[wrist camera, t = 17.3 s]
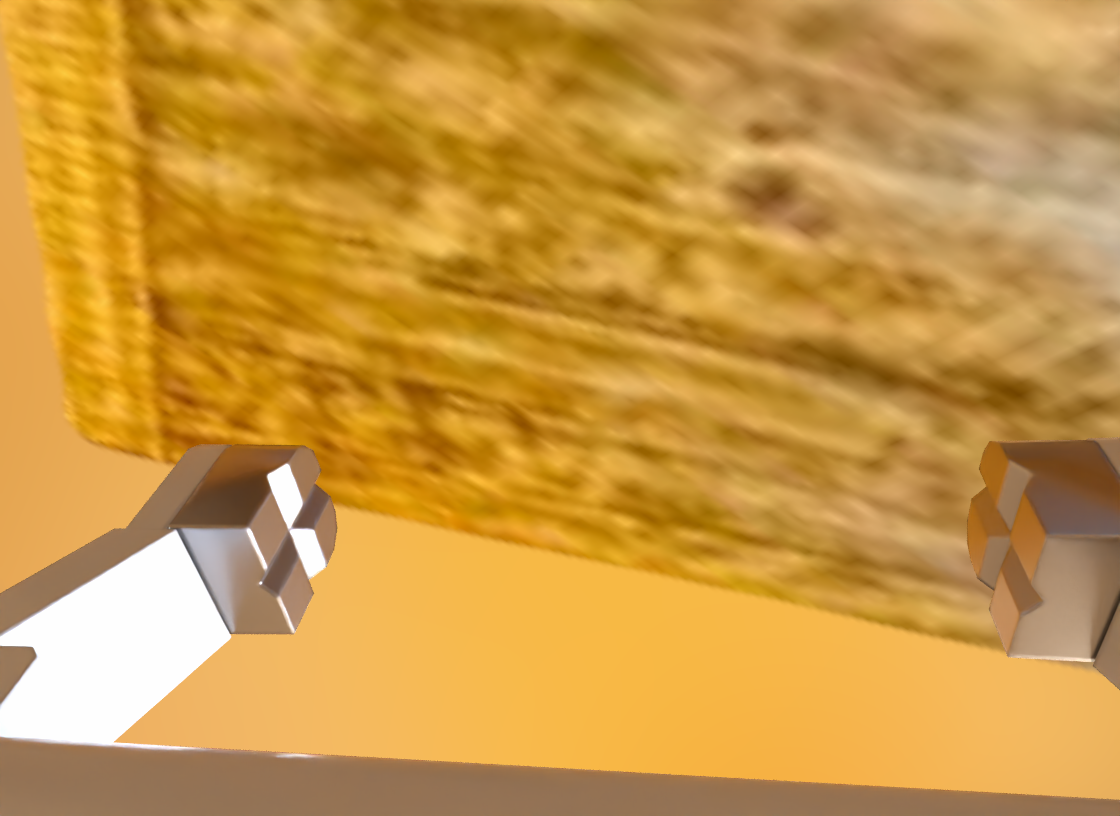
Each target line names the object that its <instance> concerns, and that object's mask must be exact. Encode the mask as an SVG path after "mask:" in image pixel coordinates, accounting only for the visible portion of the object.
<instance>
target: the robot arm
mask: <svg viewBox="0 0 1120 816" xmlns="http://www.w3.org/2000/svg"><path fill="white" fill-rule="evenodd" d="M979 470H980V473H981V475H982V477H983V479H984V482H985V484H986V486H987V487H985V488H984V489H983V490H982V491H980V492H979V493H978V494H977V495H976V496H974V497H973V498H972V500H971V504H970V509H969V514H968V519H967V544H968V549H969V554H970V559H971V563H972V565H973V568H974V571H975V574H976V576H977V579H979V580H980V581H981V582H983V583H984V584H985V585H987V586H988V587H989V588H991V589H992V590H993V591H994V592H993V596H992V600H991V603H990V607H989V611H990V613H991V616H992V618H993V621H994V623H995V626H996V628H997V631H998V633H999V636H1000V638H1001V641H1002V644H1003V646H1004V649H1005V651H1006V654H1007V656H1008V657H1013V658H1031V659H1049V660H1066V661H1084V662H1094V664H1093V666H1094V667H1095V668H1096V669H1097V670H1098V671H1099V672H1100V673H1101V674H1103V675H1104V676H1105V677H1106V678H1107V679H1108V680H1109V681H1110V682H1111V683H1113V684H1114V685H1115V686H1116V687H1117V688H1118V689H1119V690H1120V438H1088V439H1087V440H1039V441H990V442H989V443H988V445H987V447H986V448H985V450H984V452H983V455H982V459H981V463H980V467H979ZM320 472H321V469H320V466H319V464H318V461H317V459H316V456H315V454H314V451H313V450H311V449H309V448H308V447H306V446H302V445H239V444H235V445H198V446H195V447H192V448H190V449H188V450H187V452H186V453H185V454H184V455H183V457H182V458H181V459H180V461H179V462H178V463H177V464H176V466H175V467H174V468H173V469H172V471H171V472H170V474H168V476H167V477H166V478H165V480H164V481H163V482H162V483H161V485H160V486H159V487H158V488H157V490H156V491H155V492H154V494H153V495H152V496H151V497H150V498H149V500H148V501H147V502H146V504H145V505H144V506H143V507H142V509H141V510H140V511H139V513H138V514H137V515H136V516H135V517H134V519H133V520H132V521H131V523H130V524H129V525H128V526H127V528H126V529H113V530H111V531H109V532H108V533H106V534H104V535H102V536H101V537H99V538H97V539H95V540H93V541H92V542H90V543H88V544H86V545H85V546H83V547H81V548H80V549H78V550H76V551H74V552H72V553H71V554H69V555H67V556H65V557H63V558H62V559H60V560H58V561H56V562H55V563H53V564H51V565H49V566H48V567H46V568H44V569H42V570H41V571H39V572H37V573H35V574H34V575H32V576H30V577H28V578H26V579H25V580H23V581H21V582H19V583H18V584H16V585H15V586H12V587H11V588H9V589H7V590H5V591H4V592H2V593H0V816H1120V800H1111V799H1095V798H1078V797H1060V796H1042V795H1025V794H1007V793H989V792H972V791H954V790H937V789H920V788H902V787H883V786H866V785H848V784H831V783H812V782H795V781H777V780H759V779H742V778H741V779H740V778H724V777H706V776H689V775H671V774H653V773H635V772H619V771H601V770H584V769H583V770H582V769H566V768H549V767H531V766H513V765H496V764H479V763H462V762H444V761H443V762H442V761H427V760H426V761H425V760H408V759H392V758H374V757H356V756H338V755H321V754H303V753H285V752H269V751H268V752H267V751H251V750H231V749H215V748H197V747H181V746H180V747H179V746H163V745H162V746H161V745H145V744H128V743H113V742H114V741H115V740H116V739H117V738H118V737H119V736H120V735H121V734H123V733H124V732H125V731H126V730H127V729H128V728H129V727H131V726H132V725H133V724H134V723H135V722H136V721H137V720H139V719H140V718H141V717H142V716H143V715H144V714H145V713H146V712H148V711H149V710H150V709H151V708H152V707H153V706H154V705H155V704H157V703H158V702H159V701H160V700H161V699H162V698H163V697H165V696H166V695H167V694H168V693H169V692H170V691H171V690H172V689H174V688H175V687H176V686H177V685H178V684H179V683H180V682H181V681H183V680H184V679H185V678H186V677H187V676H188V675H189V674H191V673H192V672H193V671H194V670H195V669H196V668H197V667H198V666H199V665H201V664H202V663H203V662H204V661H205V660H206V659H207V658H208V657H210V656H211V655H212V654H213V653H214V652H215V651H217V650H218V649H219V648H220V647H221V646H222V645H223V644H224V643H225V642H227V641H228V640H229V639H230V638H231V635H230V634H294V633H295V631H296V629H297V627H298V625H299V623H300V621H301V619H302V617H303V615H304V613H305V611H306V608H307V606H308V604H309V602H310V600H311V598H312V596H313V594H314V592H313V590H312V587H311V584H310V582H309V579H310V578H312V577H313V576H315V575H316V574H317V573H318V572H320V571H321V570H323V569H324V568H325V567H327V564H328V562H329V560H330V557H331V555H332V553H333V551H334V546H335V540H336V533H337V522H336V514H335V509H334V506H333V503H332V500H331V497H330V496H329V495H328V494H327V493H326V492H324V491H323V490H322V489H321V488H320V487H318V486H317V485H316V484H315V482H316V480H317V478H318V476H319V474H320Z"/></svg>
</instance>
